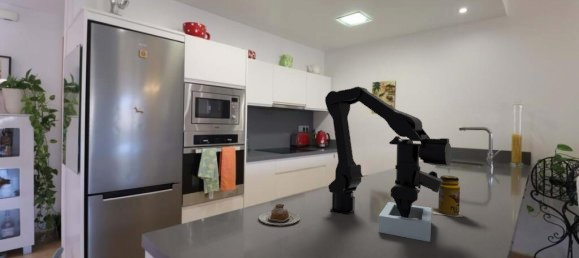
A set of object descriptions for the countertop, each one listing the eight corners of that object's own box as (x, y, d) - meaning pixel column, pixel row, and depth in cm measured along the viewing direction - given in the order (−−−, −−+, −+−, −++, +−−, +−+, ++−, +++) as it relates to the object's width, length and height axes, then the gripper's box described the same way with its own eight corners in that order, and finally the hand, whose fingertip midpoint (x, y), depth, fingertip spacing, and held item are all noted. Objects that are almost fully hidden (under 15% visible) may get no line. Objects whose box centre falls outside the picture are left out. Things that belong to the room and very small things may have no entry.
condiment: (463, 217, 86) (464, 179, 86) (433, 214, 89) (434, 177, 89) (456, 211, 93) (457, 175, 93) (429, 208, 96) (429, 173, 96)
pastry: (307, 220, 82) (307, 204, 82) (283, 231, 72) (283, 214, 72) (276, 212, 89) (276, 198, 89) (250, 222, 79) (250, 206, 79)
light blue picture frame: (378, 232, 72) (378, 215, 72) (388, 215, 86) (388, 201, 86) (430, 241, 66) (430, 223, 66) (431, 222, 80) (431, 207, 80)
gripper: (441, 167, 64) (440, 235, 64) (440, 160, 81) (439, 214, 81) (390, 164, 69) (389, 226, 69) (399, 158, 86) (398, 208, 86)
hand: (406, 218), depth 76 cm, fingers open, 6 cm apart
